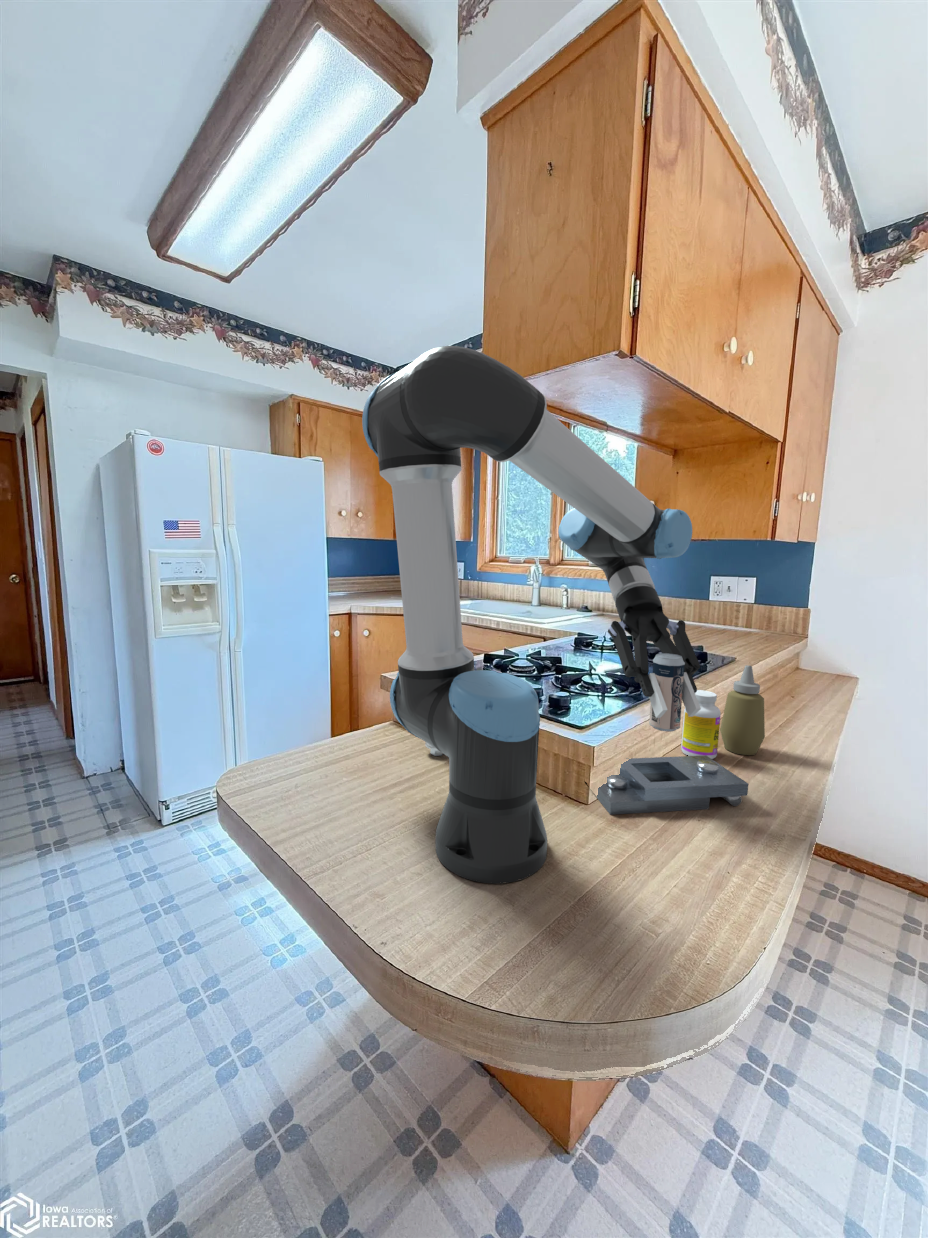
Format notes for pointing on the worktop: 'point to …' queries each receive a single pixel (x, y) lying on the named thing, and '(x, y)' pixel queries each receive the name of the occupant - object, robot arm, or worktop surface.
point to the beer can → (669, 690)
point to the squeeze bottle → (744, 716)
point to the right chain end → (684, 779)
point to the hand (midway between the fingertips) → (678, 713)
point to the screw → (433, 750)
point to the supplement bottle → (702, 727)
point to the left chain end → (626, 800)
